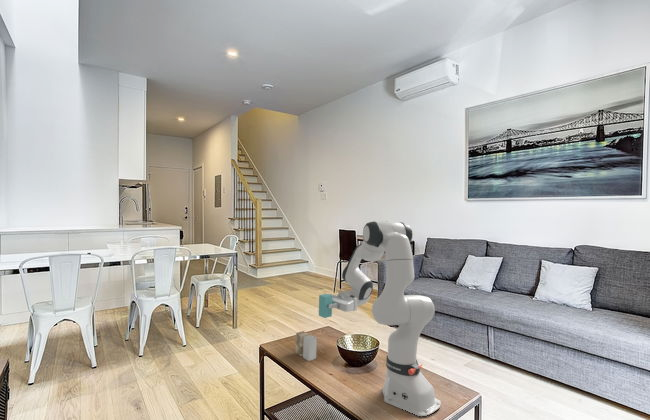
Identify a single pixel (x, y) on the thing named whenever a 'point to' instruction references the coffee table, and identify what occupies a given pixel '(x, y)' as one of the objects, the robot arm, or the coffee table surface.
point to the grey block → (309, 347)
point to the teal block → (325, 305)
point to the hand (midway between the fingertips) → (324, 304)
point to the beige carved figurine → (300, 342)
